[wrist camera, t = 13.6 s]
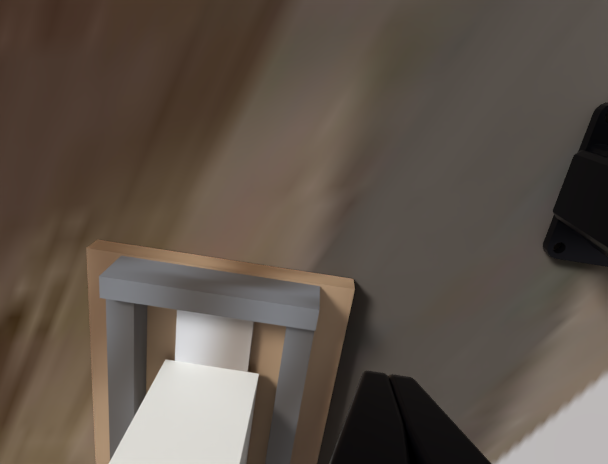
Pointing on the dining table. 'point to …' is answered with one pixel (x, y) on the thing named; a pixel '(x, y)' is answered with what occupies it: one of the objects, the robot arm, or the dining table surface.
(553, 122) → the dining table surface
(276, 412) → the rail mount
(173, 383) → the block
